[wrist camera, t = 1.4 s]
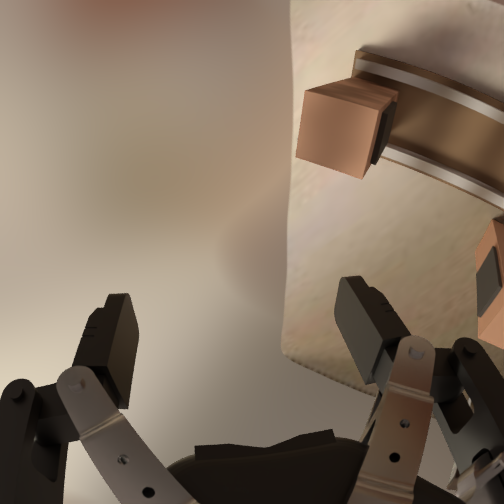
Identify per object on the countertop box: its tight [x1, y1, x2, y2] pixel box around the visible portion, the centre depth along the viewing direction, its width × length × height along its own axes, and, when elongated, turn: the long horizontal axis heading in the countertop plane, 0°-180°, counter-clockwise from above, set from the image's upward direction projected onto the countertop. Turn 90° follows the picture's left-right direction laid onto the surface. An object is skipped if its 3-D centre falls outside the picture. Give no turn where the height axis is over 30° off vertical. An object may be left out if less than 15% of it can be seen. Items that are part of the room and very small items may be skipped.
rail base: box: [295, 50, 504, 211], centre depth 20 cm, size 19×10×14 cm, turn 86°
